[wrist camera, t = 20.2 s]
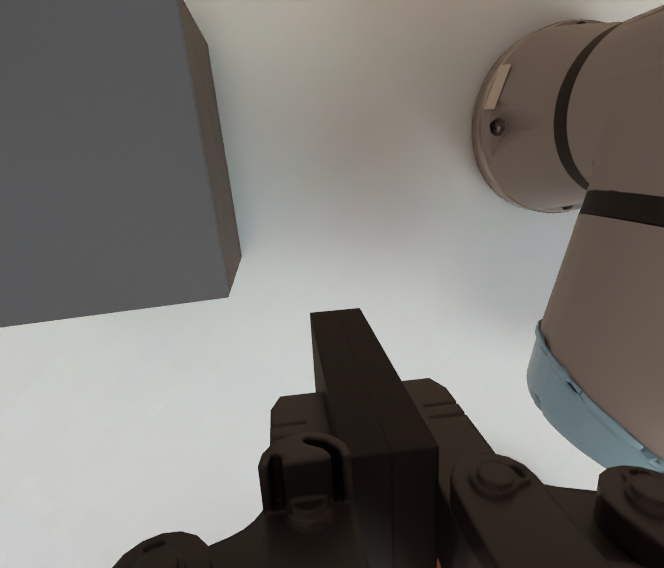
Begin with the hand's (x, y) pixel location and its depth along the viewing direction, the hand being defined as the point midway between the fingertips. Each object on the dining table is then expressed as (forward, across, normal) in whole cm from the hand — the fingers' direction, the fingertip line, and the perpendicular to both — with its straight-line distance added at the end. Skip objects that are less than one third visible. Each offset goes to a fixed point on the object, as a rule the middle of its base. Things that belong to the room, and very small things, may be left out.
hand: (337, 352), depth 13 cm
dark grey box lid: (+14, -13, +6) cm, 20 cm away
